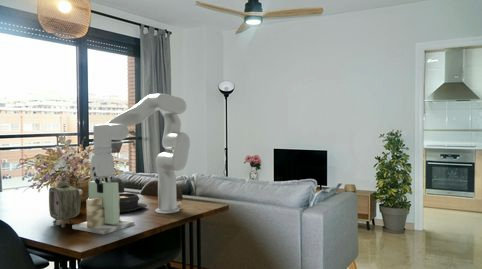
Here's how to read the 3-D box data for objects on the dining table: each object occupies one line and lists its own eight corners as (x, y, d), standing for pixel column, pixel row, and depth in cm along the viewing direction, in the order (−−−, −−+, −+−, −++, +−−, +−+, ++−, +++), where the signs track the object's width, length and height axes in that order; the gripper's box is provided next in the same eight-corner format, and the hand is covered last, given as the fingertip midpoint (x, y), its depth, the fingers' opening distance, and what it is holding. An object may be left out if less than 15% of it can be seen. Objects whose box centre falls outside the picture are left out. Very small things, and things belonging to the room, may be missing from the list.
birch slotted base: (104, 219, 189) (103, 192, 188) (134, 224, 179) (134, 195, 178) (72, 228, 173) (71, 198, 173) (103, 234, 163) (102, 202, 163)
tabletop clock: (49, 223, 182) (48, 170, 181) (69, 220, 188) (68, 169, 188) (60, 229, 172) (59, 173, 171) (81, 225, 178) (80, 171, 177)
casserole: (104, 217, 194) (103, 200, 194) (95, 210, 209) (94, 195, 209) (152, 211, 208) (151, 195, 208) (140, 205, 223) (140, 190, 223)
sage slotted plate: (94, 219, 181) (93, 180, 181) (118, 223, 173) (118, 182, 173) (89, 220, 178) (88, 181, 178) (113, 224, 170) (113, 183, 170)
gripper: (110, 150, 184) (111, 188, 184) (81, 152, 170) (82, 194, 170) (122, 150, 180) (122, 190, 181) (93, 152, 166) (94, 195, 166)
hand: (103, 191), depth 175 cm, fingers closed on sage slotted plate, 3 cm apart
